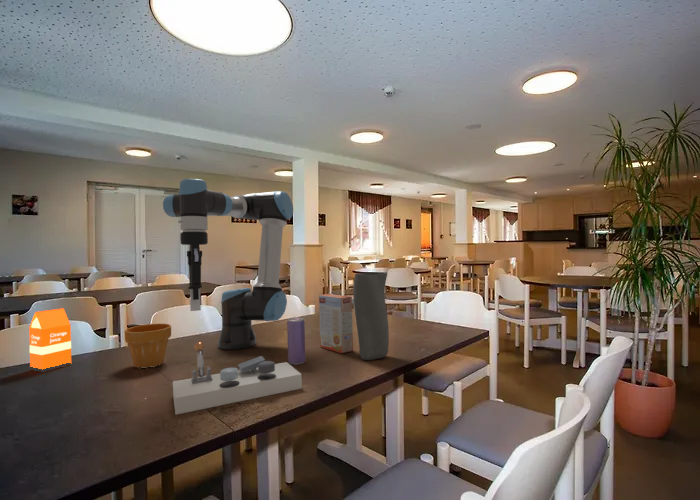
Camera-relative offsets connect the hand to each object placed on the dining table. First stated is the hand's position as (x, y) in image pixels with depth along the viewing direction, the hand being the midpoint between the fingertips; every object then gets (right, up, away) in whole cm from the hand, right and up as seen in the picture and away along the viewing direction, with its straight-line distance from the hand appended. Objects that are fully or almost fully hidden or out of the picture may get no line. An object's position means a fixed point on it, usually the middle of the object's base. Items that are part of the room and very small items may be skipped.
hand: (195, 310), depth 110 cm
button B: (+15, -15, -14) cm, 25 cm away
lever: (+6, -16, -10) cm, 20 cm away
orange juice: (-57, -23, +17) cm, 64 cm away
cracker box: (+41, -21, +33) cm, 56 cm away
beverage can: (+28, -21, +17) cm, 39 cm away
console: (+15, -21, -9) cm, 28 cm away
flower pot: (-24, -22, +18) cm, 37 cm away
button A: (+23, -15, -9) cm, 29 cm away
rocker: (+18, -16, -4) cm, 24 cm away
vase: (+54, -20, +21) cm, 61 cm away
